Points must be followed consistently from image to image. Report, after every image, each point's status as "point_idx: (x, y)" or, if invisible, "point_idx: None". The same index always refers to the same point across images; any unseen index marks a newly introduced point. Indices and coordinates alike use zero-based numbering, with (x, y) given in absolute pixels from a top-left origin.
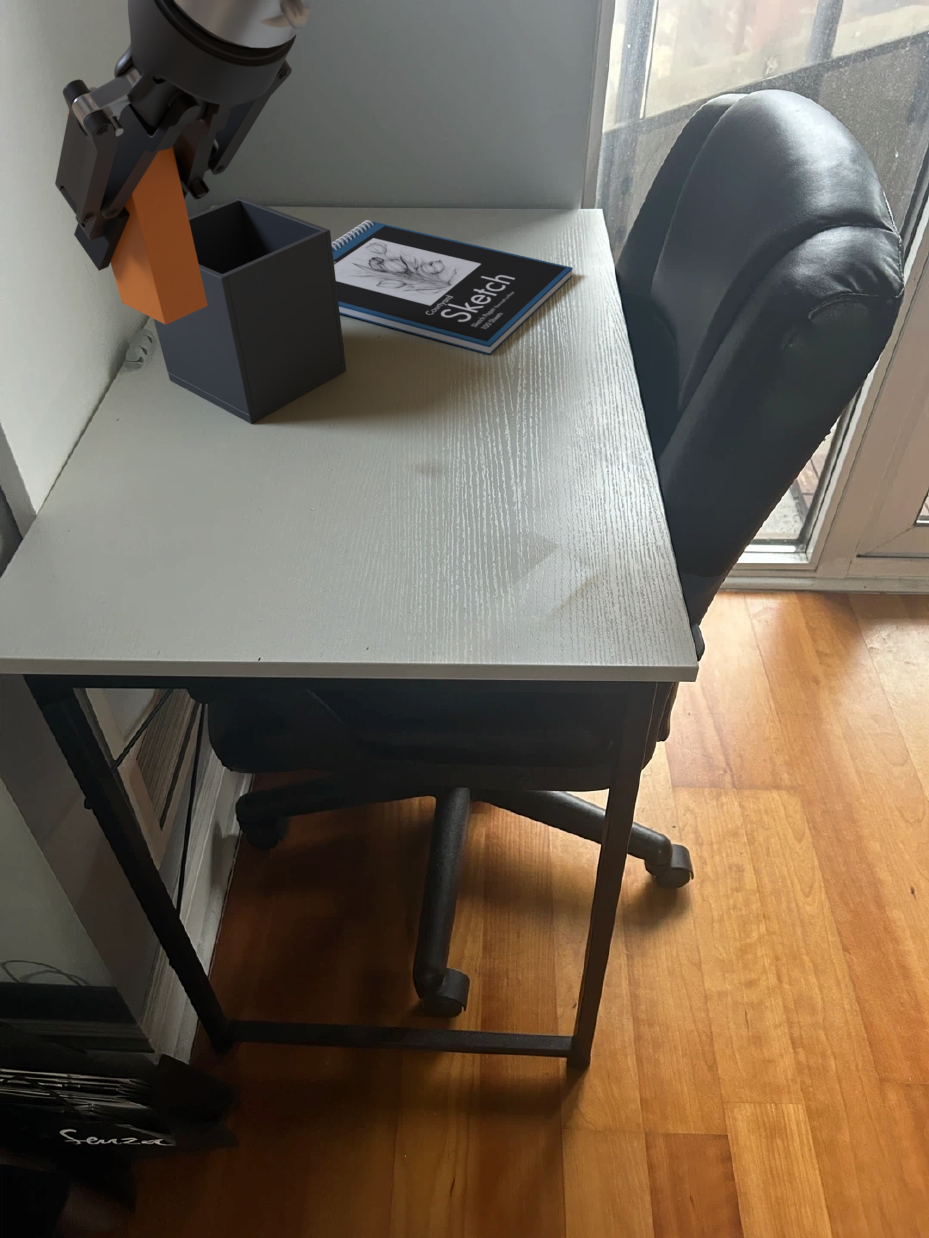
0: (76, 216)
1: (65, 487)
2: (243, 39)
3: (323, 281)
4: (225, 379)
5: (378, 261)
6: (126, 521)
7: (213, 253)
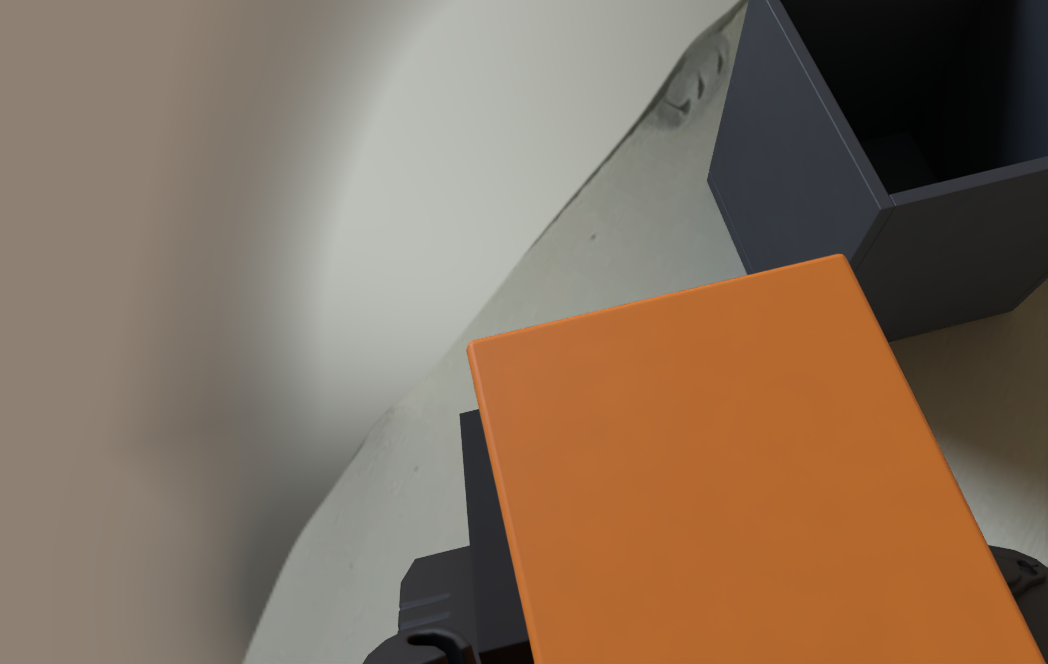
0: (401, 592)
1: (456, 359)
2: None
3: None
4: None
5: None
6: None
7: (900, 16)
